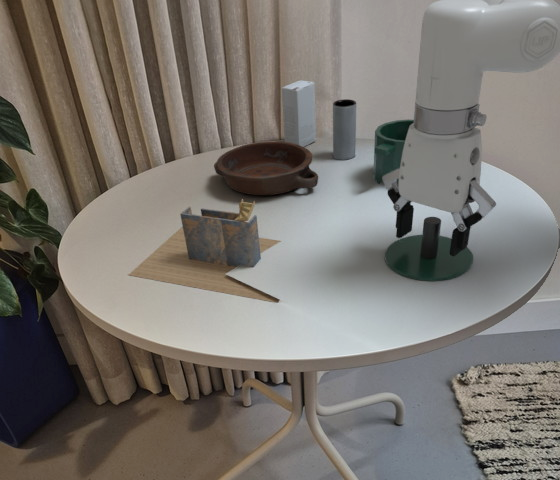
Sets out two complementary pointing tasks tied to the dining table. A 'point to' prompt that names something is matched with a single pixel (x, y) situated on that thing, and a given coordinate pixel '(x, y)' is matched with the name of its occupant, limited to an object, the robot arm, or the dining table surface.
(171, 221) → the dining table surface
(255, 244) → the ruin model on sheet
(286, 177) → the dish
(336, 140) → the grey cylinder
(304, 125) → the cosmetic box
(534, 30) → the robot arm
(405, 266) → the lid
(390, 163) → the pot
